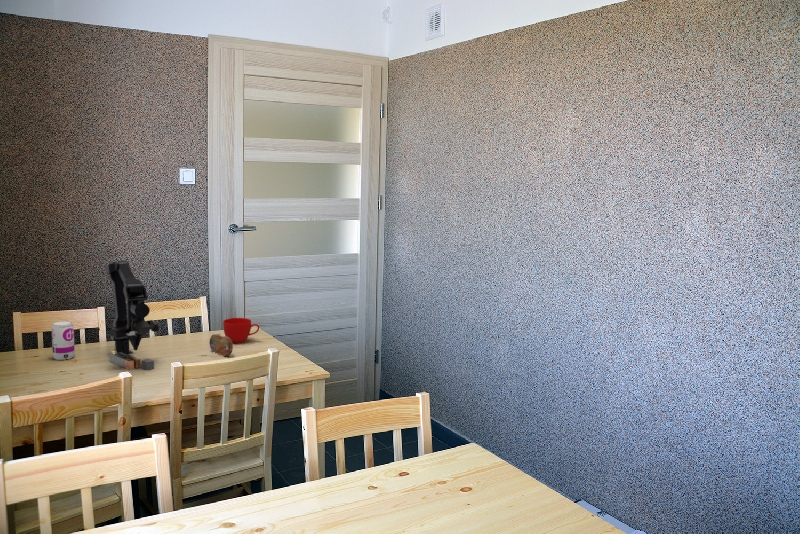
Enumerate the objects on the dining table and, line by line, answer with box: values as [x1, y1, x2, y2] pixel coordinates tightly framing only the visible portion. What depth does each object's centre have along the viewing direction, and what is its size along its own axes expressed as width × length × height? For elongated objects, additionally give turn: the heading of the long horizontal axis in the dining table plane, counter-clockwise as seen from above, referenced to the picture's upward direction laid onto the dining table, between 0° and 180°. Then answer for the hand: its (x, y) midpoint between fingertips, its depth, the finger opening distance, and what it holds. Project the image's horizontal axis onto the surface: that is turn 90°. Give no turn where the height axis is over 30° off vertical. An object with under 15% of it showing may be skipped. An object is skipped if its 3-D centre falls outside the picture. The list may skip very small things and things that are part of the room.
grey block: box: [141, 358, 155, 371], centre depth 273 cm, size 4×3×3 cm
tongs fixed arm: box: [109, 349, 135, 371], centre depth 278 cm, size 18×3×4 cm, turn 50°
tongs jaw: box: [117, 352, 141, 369], centre depth 278 cm, size 14×2×3 cm, turn 52°
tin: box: [209, 333, 234, 357], centre depth 298 cm, size 15×3×8 cm, turn 47°
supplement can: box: [51, 320, 76, 361], centre depth 283 cm, size 8×8×15 cm
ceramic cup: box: [222, 317, 260, 344], centre depth 319 cm, size 13×17×10 cm
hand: (135, 350), depth 278 cm, fingers closed
